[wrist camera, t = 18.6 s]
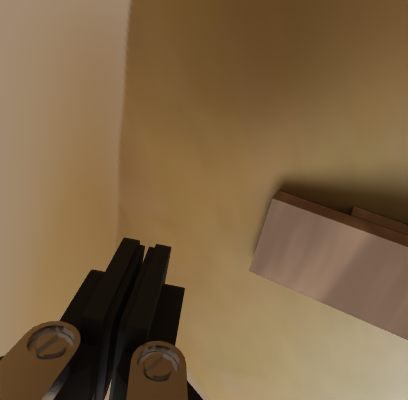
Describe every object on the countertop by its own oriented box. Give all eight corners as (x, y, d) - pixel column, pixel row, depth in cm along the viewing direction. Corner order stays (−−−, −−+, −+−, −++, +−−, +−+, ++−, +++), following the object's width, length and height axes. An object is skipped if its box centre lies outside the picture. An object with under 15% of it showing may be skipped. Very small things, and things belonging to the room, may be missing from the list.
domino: (278, 190, 21) (464, 256, 18) (256, 259, 23) (420, 328, 20) (272, 198, 20) (472, 270, 17) (249, 270, 22) (424, 347, 19)
